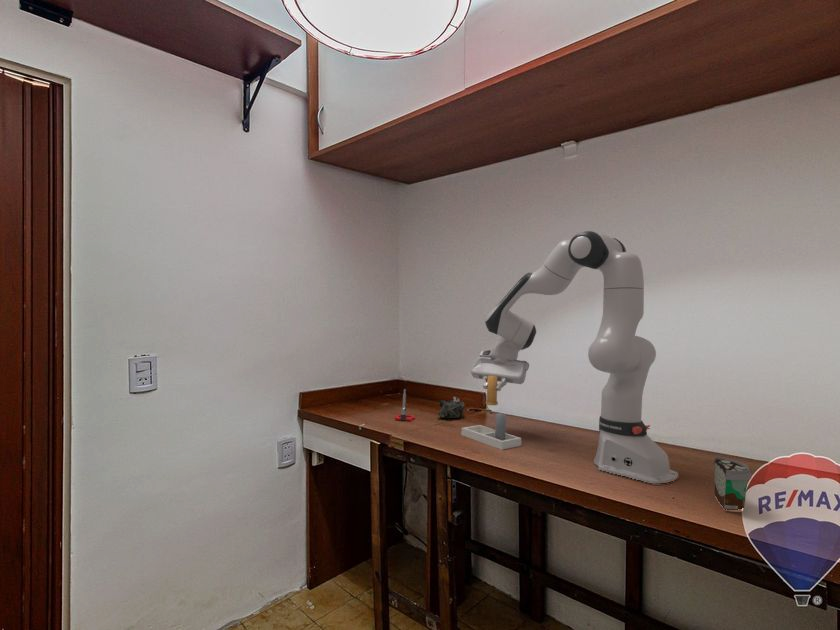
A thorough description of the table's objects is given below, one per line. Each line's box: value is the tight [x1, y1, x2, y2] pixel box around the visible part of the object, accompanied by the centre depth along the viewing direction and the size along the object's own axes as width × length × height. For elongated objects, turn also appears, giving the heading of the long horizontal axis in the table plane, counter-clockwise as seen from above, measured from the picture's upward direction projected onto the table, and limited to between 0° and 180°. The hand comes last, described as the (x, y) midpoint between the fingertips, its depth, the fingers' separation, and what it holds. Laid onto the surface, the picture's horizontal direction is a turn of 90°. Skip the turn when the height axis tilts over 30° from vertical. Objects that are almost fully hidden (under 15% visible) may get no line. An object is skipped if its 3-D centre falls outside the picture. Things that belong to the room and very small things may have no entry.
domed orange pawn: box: [485, 376, 499, 406], centre depth 159 cm, size 4×4×10 cm
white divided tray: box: [461, 424, 522, 451], centre depth 154 cm, size 20×9×4 cm, turn 35°
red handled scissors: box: [394, 388, 416, 422], centre depth 187 cm, size 8×13×9 cm
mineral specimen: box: [436, 396, 466, 420], centre depth 193 cm, size 15×13×10 cm
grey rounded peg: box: [495, 412, 507, 441], centre depth 151 cm, size 4×4×10 cm
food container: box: [713, 455, 752, 510], centre depth 107 cm, size 12×6×10 cm, turn 158°
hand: (491, 388), depth 158 cm, fingers closed on domed orange pawn, 3 cm apart
